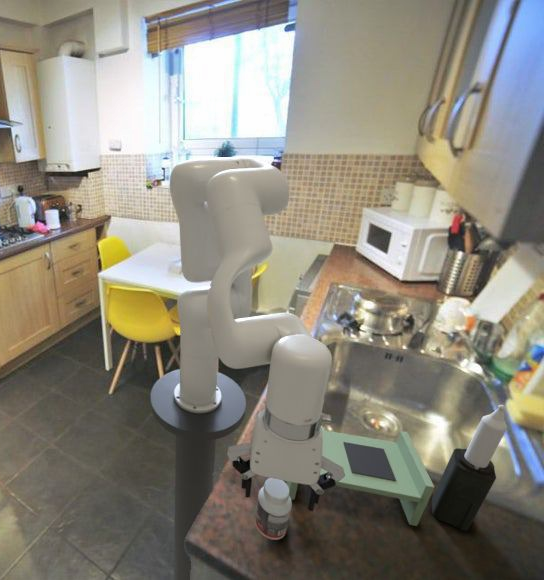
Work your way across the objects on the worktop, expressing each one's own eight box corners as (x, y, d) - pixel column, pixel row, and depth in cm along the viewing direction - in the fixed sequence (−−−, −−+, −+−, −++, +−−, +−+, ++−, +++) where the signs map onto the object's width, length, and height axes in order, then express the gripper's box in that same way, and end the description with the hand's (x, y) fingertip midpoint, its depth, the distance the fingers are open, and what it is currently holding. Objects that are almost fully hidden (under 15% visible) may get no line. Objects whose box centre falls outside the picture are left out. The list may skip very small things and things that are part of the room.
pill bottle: (251, 510, 67) (256, 473, 63) (280, 510, 67) (288, 473, 62) (258, 541, 62) (265, 503, 58) (290, 541, 62) (299, 503, 58)
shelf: (283, 448, 79) (289, 413, 75) (393, 468, 74) (407, 431, 70) (287, 498, 69) (295, 461, 64) (417, 526, 63) (434, 487, 59)
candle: (432, 517, 65) (483, 409, 54) (431, 495, 69) (478, 389, 58) (469, 533, 62) (530, 423, 52) (466, 509, 66) (522, 401, 55)
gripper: (350, 408, 55) (330, 487, 61) (231, 391, 59) (225, 467, 66) (363, 447, 48) (339, 531, 55) (229, 424, 52) (222, 505, 59)
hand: (277, 496), depth 60 cm, fingers open, 9 cm apart
